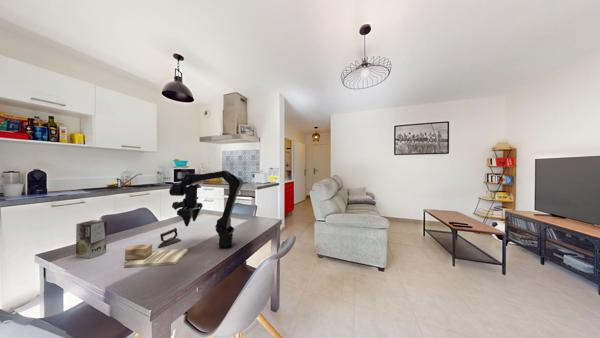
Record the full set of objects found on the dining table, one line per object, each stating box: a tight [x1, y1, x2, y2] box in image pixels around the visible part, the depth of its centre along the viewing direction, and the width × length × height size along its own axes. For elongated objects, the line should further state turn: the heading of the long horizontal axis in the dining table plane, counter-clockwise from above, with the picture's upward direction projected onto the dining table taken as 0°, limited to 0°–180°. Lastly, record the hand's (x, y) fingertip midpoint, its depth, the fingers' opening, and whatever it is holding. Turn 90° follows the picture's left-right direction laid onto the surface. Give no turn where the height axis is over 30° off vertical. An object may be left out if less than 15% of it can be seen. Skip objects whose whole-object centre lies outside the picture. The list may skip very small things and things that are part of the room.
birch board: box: [123, 248, 189, 269], centre depth 84 cm, size 20×13×1 cm, turn 101°
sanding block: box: [124, 243, 153, 262], centre depth 82 cm, size 8×5×5 cm, turn 101°
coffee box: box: [75, 219, 108, 259], centre depth 86 cm, size 9×6×16 cm
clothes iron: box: [157, 227, 182, 249], centre depth 99 cm, size 7×11×10 cm, turn 168°
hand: (190, 223), depth 98 cm, fingers open, 9 cm apart
